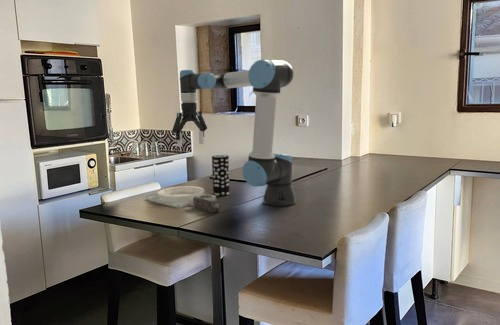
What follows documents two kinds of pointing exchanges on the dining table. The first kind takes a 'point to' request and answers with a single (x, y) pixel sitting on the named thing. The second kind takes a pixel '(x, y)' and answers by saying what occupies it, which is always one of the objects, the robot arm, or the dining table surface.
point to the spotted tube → (220, 175)
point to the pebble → (191, 202)
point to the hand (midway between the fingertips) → (190, 145)
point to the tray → (155, 199)
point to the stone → (207, 203)
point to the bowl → (180, 194)
